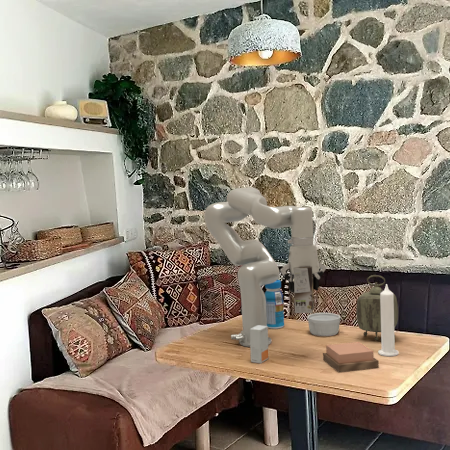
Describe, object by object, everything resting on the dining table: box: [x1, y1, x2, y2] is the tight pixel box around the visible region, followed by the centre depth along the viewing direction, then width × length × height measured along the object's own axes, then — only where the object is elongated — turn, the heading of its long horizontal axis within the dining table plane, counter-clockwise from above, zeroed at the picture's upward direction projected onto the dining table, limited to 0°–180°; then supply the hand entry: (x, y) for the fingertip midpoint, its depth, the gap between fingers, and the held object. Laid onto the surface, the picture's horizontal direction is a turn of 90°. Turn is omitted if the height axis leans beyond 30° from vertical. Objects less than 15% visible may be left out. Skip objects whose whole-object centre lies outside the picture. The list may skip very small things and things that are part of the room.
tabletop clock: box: [355, 274, 399, 342], centre depth 229 cm, size 14×9×25 cm, turn 63°
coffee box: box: [293, 266, 315, 314], centre depth 211 cm, size 9×6×16 cm
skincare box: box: [249, 325, 270, 364], centre depth 210 cm, size 6×4×12 cm
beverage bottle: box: [264, 279, 285, 330], centre depth 256 cm, size 8×8×20 cm
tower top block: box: [325, 341, 375, 364], centre depth 203 cm, size 12×12×3 cm
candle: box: [377, 283, 400, 357], centre depth 211 cm, size 7×7×25 cm
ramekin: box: [307, 312, 341, 337], centre depth 243 cm, size 13×13×7 cm
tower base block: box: [322, 352, 380, 373], centre depth 203 cm, size 14×14×3 cm
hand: (304, 290), depth 211 cm, fingers closed on coffee box, 8 cm apart
